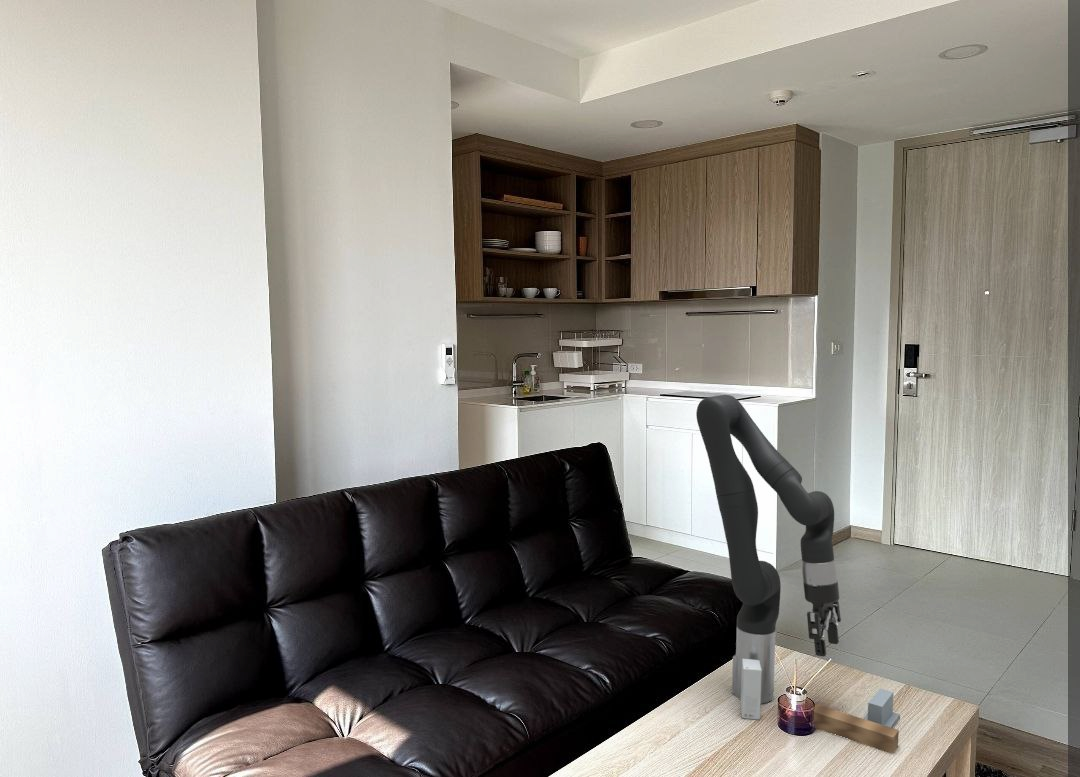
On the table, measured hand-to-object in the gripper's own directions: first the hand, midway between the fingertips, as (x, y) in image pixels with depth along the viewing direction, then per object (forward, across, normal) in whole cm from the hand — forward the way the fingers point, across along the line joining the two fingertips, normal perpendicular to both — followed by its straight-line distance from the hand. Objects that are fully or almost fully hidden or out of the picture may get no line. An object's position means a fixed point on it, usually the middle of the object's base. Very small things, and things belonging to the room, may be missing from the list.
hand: (827, 649), depth 178 cm
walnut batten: (+18, +3, +5) cm, 19 cm away
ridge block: (+18, -7, +8) cm, 21 cm away
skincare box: (+15, +8, -17) cm, 24 cm away
